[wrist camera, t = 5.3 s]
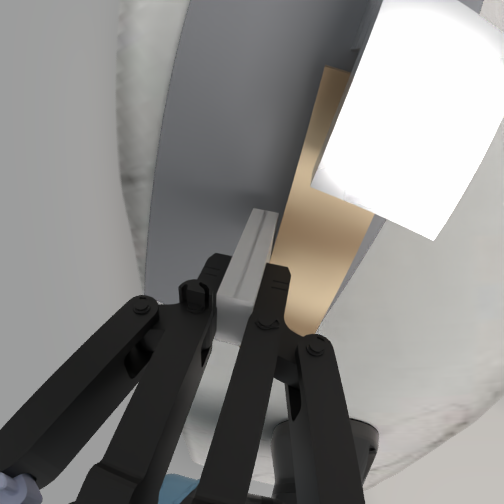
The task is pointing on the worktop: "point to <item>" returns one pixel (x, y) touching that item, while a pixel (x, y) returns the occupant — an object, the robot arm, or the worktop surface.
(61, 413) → the robot arm
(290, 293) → the brass link
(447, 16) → the block
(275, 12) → the board
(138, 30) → the worktop surface
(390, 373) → the worktop surface
